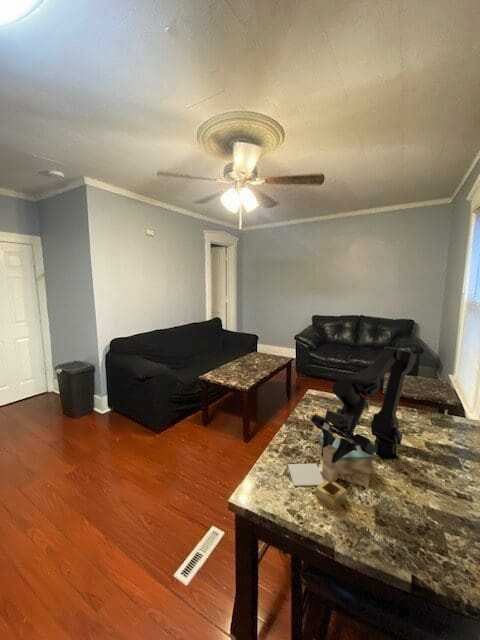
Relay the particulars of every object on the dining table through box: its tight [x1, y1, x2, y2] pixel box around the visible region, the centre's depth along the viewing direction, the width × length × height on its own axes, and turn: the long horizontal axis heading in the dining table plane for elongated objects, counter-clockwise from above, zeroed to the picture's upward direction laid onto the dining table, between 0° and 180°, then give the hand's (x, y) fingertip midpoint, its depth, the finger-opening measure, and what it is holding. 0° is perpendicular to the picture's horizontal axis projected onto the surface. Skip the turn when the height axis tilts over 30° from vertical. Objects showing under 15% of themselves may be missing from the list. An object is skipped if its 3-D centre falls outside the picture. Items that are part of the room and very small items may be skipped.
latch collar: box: [315, 479, 348, 511], centre depth 82 cm, size 6×6×3 cm
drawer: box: [319, 438, 375, 475], centre depth 97 cm, size 15×11×7 cm
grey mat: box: [287, 462, 325, 487], centre depth 92 cm, size 10×10×1 cm
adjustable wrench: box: [315, 423, 333, 441], centre depth 121 cm, size 25×6×2 cm, turn 127°
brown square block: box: [321, 444, 338, 483], centre depth 81 cm, size 3×3×10 cm
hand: (327, 459), depth 80 cm, fingers closed on brown square block, 3 cm apart
